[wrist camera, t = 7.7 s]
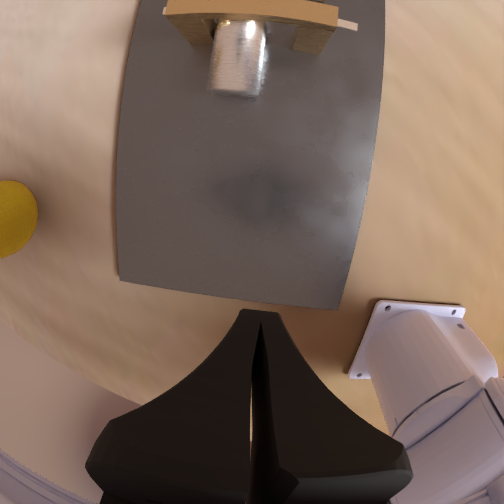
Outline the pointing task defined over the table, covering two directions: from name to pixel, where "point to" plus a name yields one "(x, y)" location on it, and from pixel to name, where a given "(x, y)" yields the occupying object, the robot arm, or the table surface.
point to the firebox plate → (248, 151)
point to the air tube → (237, 58)
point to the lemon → (16, 216)
